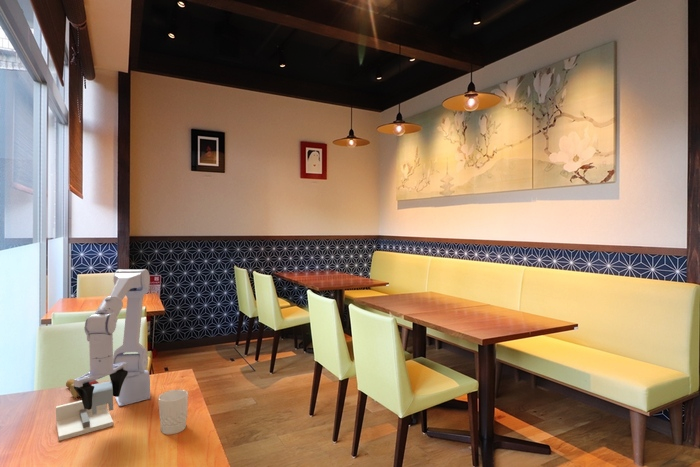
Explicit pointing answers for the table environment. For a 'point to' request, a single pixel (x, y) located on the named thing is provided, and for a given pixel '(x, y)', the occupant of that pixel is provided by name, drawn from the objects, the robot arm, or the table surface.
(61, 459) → the table surface
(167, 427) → the white cup
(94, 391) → the block
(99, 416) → the board
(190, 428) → the table surface
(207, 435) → the table surface
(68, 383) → the kendama
